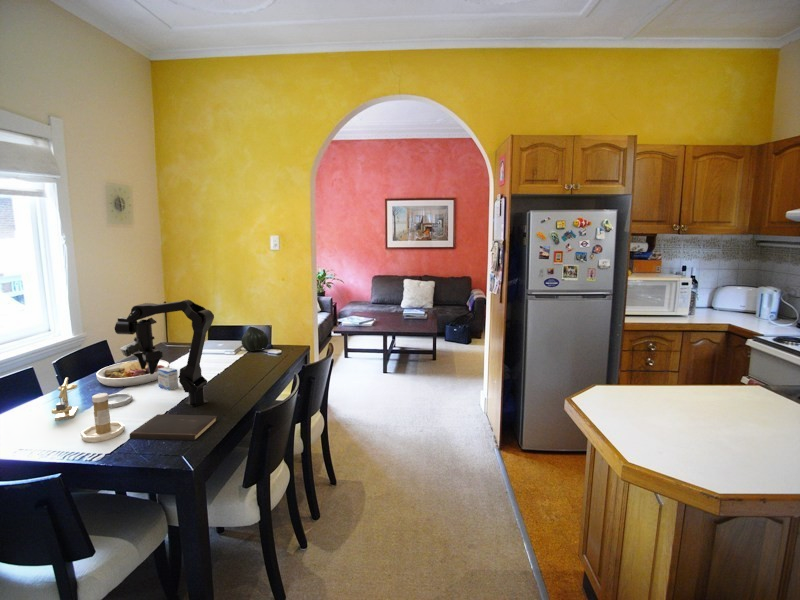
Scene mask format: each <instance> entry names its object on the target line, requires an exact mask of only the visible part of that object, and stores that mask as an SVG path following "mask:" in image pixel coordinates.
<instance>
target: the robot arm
mask: <svg viewBox="0 0 800 600" xmlns="http://www.w3.org/2000/svg"><path fill="white" fill-rule="evenodd" d="M173 312H174V313H175V312H182V313H184V315H185V316H186V317H187V319H188V320H190V321H191V328H192V330H193V335H192V338H191V344H190V348H189V353H188V357H187V363H186V365H184V366H182V367H181V368H180V369H179V376H177V377H178V381H179V382H178V383H179V384H180V385H181V386H182V389H183V391H184V393H187V394H188V401H186V402H185V404H186V405H188V406H190V407H192V408H194V407H198V406H201V405H204V404H208V403H209V400H207V399H205V391H204V387H206V386H207V384H208V380H207V379H206V378H205V377H204V376H203V374H202V368H201V366H200V365H201V364H200V363H201V360H202V356H203V355H202V354H203V350H204V345H205V341H206V338H207V337H206V336H207V332H208V330H210V328H211V326H212V323H213V322H214V318H215V316H214V313H213V312H212V311H211V310H209V309H207V308H205V307H203V306H202V305H200V304H198V303H195V302H194V301H192V300H190V299H184V300H177V301H173V302H172V301H171V302H165V303H151V302H145V303H141V304H140V303H139V304H137V305H133V306H132V308H131V310H130V313H129V314H128V316H127V317H118V318H117V321H116V322H115V325H114V331H115V334H117V335H135V337H134V338H133V341H132V342H129V343H128V344H127V343H126V344H125V345H124V346H121V347H120V348H119V350H120V351H121V353H122V354H123V356H125V358H128V357H131V356H134V357H136V360H138V362H139V364H140V366H141V369H142V370H143V369H145V367H146V363H147V364H148V368H149V371H150V374H154V371H155V369H156V367H157V365H158V362H159V361H160V360H162V358H164V357H163V356H164V354H163V352H162V351H161V350H160V349H158V348H157V349H156V346H155V345H154V340H155V336H153V327H152V325H154V324H157V320H155V319H154V318H153V317H152V316H154V315H159V314H168V313H173ZM146 318H147V319H146Z"/></svg>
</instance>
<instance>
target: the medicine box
mask: <svg viewBox="0 0 800 600" xmlns="http://www.w3.org/2000/svg"><path fill="white" fill-rule="evenodd" d="M178 377H179V376H178V369H175V368H172V367H169V368H168V367H164V368H160V369H158V379H157V380H158V388H159V387H160V388H159V389H163V388H164V389H165V390H167V389H168V390H167V391H172V390H175V389H177V387H178V388H179V382H178V381H179V378H178ZM174 388H175V389H174ZM171 389H172V390H171Z"/></svg>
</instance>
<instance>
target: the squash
mask: <svg viewBox="0 0 800 600" xmlns="http://www.w3.org/2000/svg"><path fill="white" fill-rule="evenodd" d="M241 346H242V347H243V348H244V350H245V351H247V350H250V351H249V352H251V351H254V350H255V351H259V349H262V348H265V349H267V348H268V346H269V338H268V336H267V334H266V332H264V331H263V330H261V329H259V328H257V327H255V326H249V327H247V329H246V331H245V332H244V334H243V335H242V337H241ZM255 351H254V352H255Z"/></svg>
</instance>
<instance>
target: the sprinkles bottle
mask: <svg viewBox="0 0 800 600" xmlns="http://www.w3.org/2000/svg"><path fill="white" fill-rule="evenodd" d="M108 395H109V394H108V393H107V392H100V393H96V394H94V395H92V397H91V400H92V404H93V415H94V425H96V433H97V434H104V433H107V432H109V431H111V426H110V422H111V416H110V415H111V414H110V408H109V406H108Z"/></svg>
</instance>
